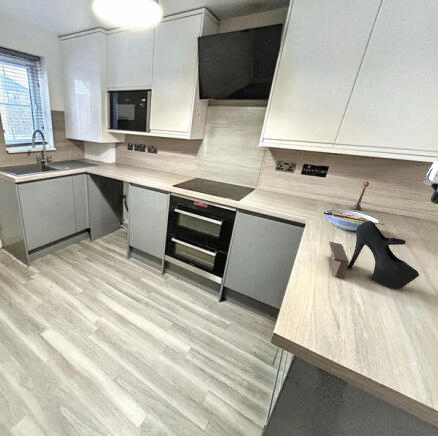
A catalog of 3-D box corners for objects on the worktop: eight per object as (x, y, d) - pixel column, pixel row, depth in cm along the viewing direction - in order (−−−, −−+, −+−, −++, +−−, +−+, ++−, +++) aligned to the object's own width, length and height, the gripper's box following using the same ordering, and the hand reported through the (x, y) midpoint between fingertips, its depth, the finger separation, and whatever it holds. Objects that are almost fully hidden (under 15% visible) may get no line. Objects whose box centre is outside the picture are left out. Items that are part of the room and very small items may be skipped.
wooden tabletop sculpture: (361, 211, 162) (373, 182, 155) (352, 209, 164) (364, 181, 157) (359, 209, 167) (370, 181, 159) (351, 207, 169) (362, 180, 162)
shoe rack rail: (335, 259, 97) (341, 244, 94) (341, 278, 84) (349, 261, 81) (324, 256, 99) (329, 241, 96) (328, 274, 86) (334, 258, 83)
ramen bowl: (371, 227, 133) (377, 214, 130) (380, 242, 115) (387, 226, 112) (318, 217, 145) (322, 204, 142) (319, 228, 127) (324, 214, 124)
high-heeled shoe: (406, 296, 76) (437, 241, 69) (337, 267, 91) (357, 219, 83) (412, 288, 80) (442, 236, 73) (346, 262, 95) (365, 216, 87)
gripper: (437, 147, 76) (411, 201, 83) (509, 152, 69) (474, 210, 76) (426, 146, 82) (403, 197, 89) (492, 150, 75) (461, 204, 82)
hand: (436, 203), depth 82 cm, fingers closed
